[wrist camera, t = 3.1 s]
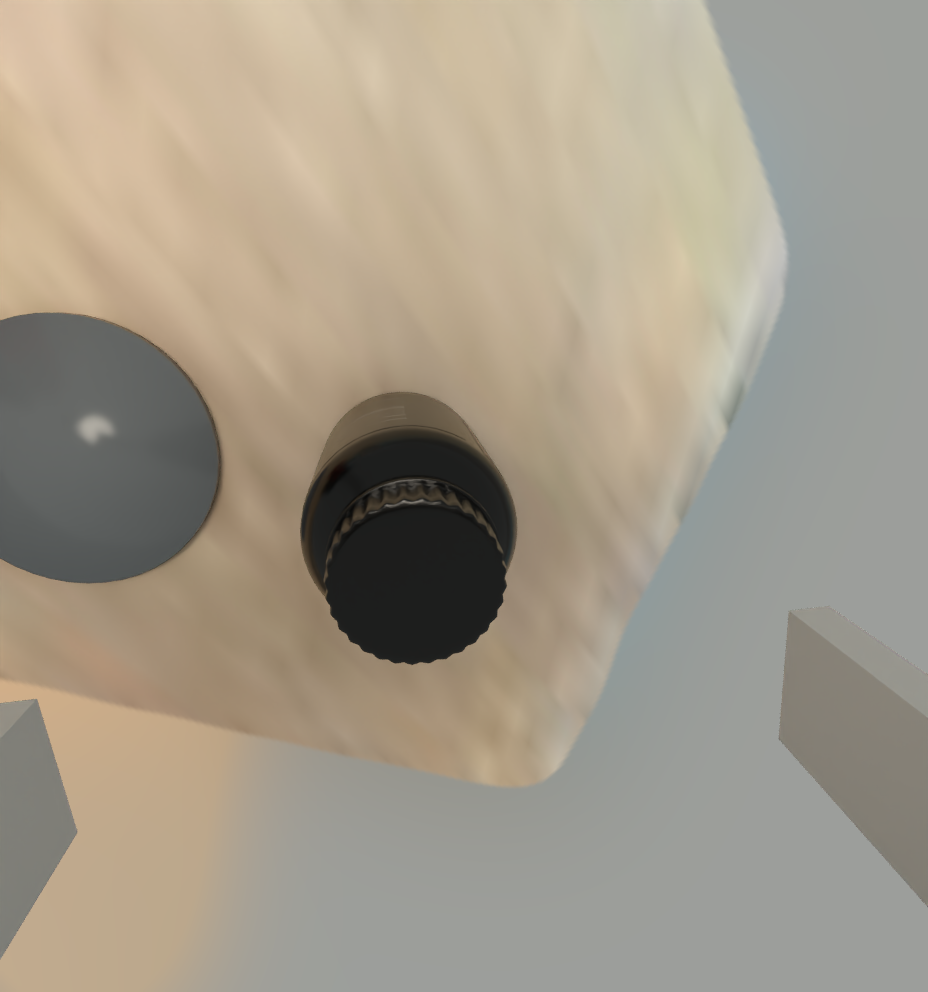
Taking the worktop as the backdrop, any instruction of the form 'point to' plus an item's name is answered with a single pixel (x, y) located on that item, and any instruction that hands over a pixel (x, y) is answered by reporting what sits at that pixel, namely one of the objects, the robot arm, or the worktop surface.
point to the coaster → (98, 450)
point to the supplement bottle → (408, 529)
